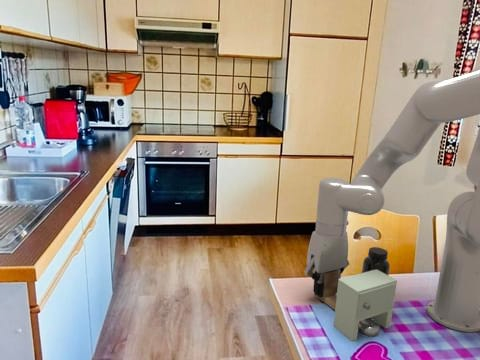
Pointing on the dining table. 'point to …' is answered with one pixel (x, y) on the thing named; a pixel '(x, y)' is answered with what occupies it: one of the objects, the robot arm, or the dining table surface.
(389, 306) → the cabinet
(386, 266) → the supplement bottle
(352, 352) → the dining table surface
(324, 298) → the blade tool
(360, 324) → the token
